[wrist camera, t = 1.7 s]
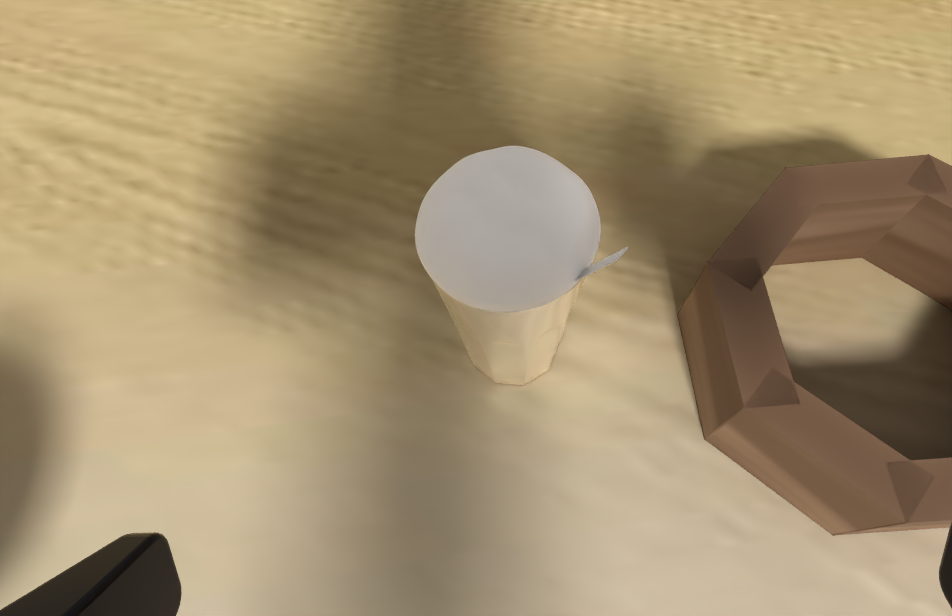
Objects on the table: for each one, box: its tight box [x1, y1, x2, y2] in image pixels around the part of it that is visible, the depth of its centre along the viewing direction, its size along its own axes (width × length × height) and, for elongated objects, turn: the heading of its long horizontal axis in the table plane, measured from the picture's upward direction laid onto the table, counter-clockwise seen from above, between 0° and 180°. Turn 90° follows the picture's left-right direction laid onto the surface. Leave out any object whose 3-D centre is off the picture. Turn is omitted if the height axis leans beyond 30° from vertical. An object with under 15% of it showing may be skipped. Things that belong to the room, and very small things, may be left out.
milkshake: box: [415, 146, 628, 385], centre depth 17 cm, size 4×5×10 cm
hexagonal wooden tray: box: [678, 154, 952, 536], centre depth 19 cm, size 11×11×4 cm
